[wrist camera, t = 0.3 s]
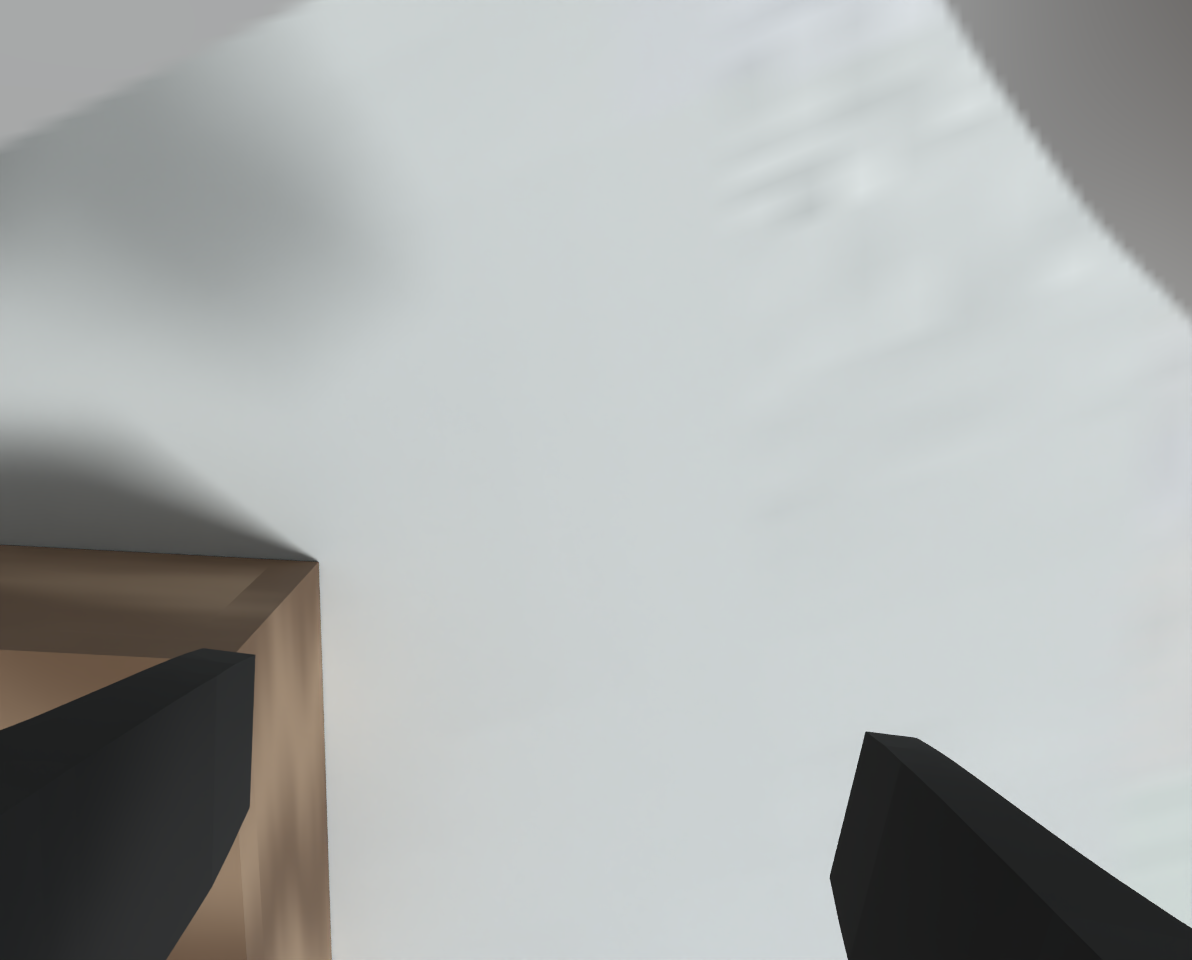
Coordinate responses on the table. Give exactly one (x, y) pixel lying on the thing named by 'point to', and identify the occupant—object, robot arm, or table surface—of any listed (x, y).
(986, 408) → the table surface
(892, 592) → the table surface
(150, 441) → the table surface
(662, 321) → the table surface
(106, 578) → the low shelf
